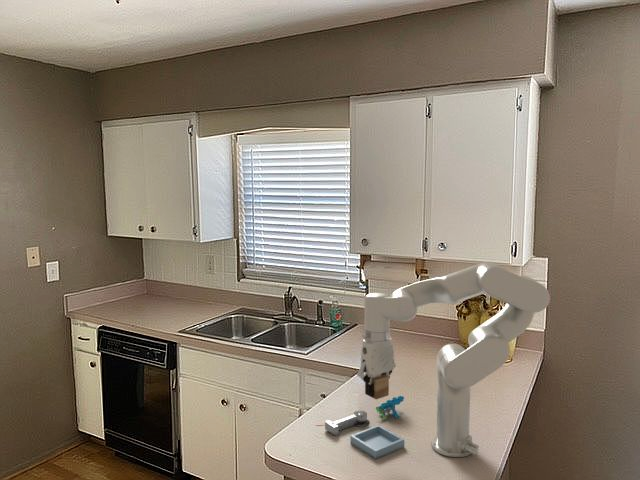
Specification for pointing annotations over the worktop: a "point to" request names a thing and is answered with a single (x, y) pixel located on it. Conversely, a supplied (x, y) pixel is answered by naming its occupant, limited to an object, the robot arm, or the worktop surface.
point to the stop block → (380, 386)
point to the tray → (377, 441)
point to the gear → (389, 406)
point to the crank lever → (346, 422)
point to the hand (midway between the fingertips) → (376, 392)
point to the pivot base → (354, 425)
